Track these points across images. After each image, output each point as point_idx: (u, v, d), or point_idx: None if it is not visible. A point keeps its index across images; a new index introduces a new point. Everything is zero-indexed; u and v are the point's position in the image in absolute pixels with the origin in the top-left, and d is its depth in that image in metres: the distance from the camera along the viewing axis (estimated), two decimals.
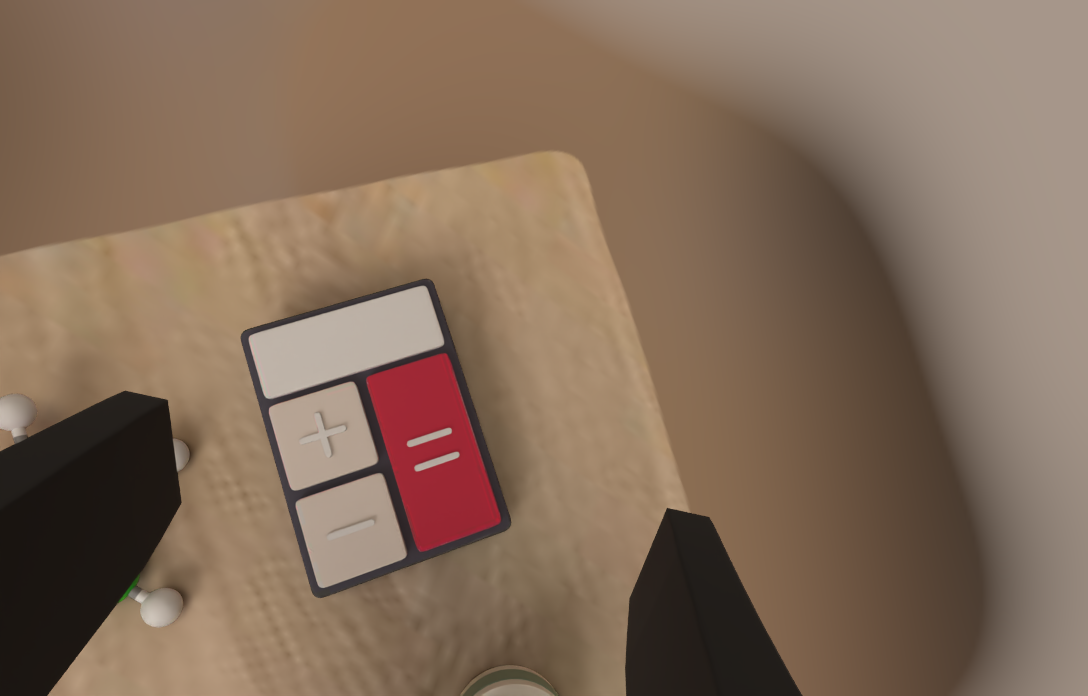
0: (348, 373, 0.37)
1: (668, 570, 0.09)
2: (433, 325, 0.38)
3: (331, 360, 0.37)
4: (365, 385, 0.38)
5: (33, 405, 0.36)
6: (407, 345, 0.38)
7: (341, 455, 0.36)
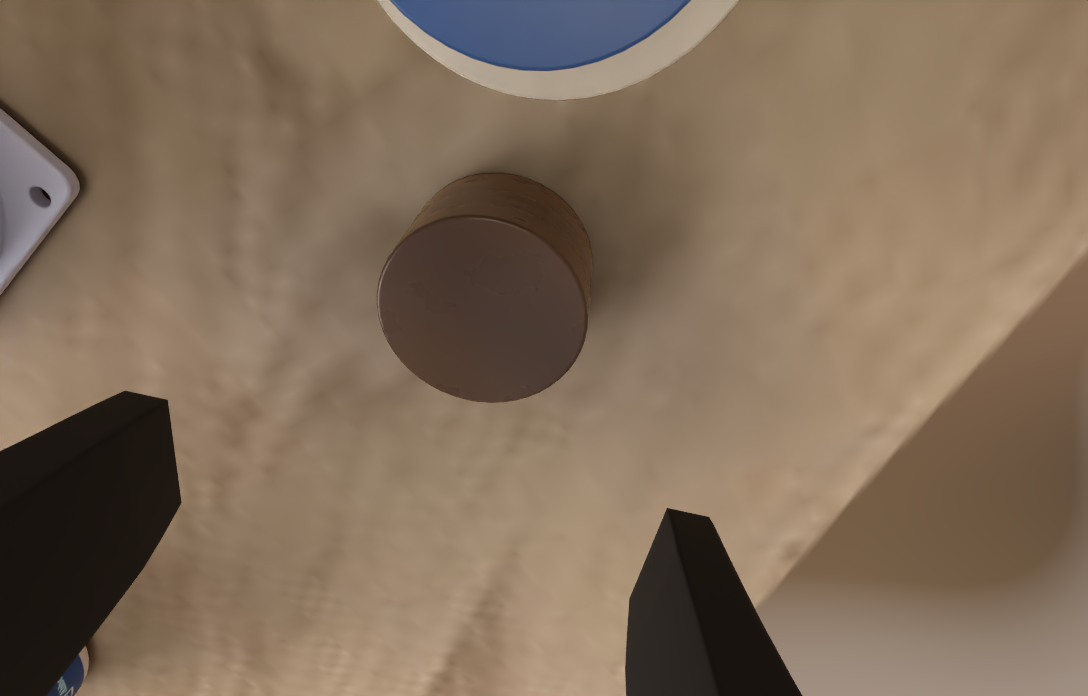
0: None
1: (668, 570, 0.09)
2: None
3: None
4: None
5: None
6: None
7: None
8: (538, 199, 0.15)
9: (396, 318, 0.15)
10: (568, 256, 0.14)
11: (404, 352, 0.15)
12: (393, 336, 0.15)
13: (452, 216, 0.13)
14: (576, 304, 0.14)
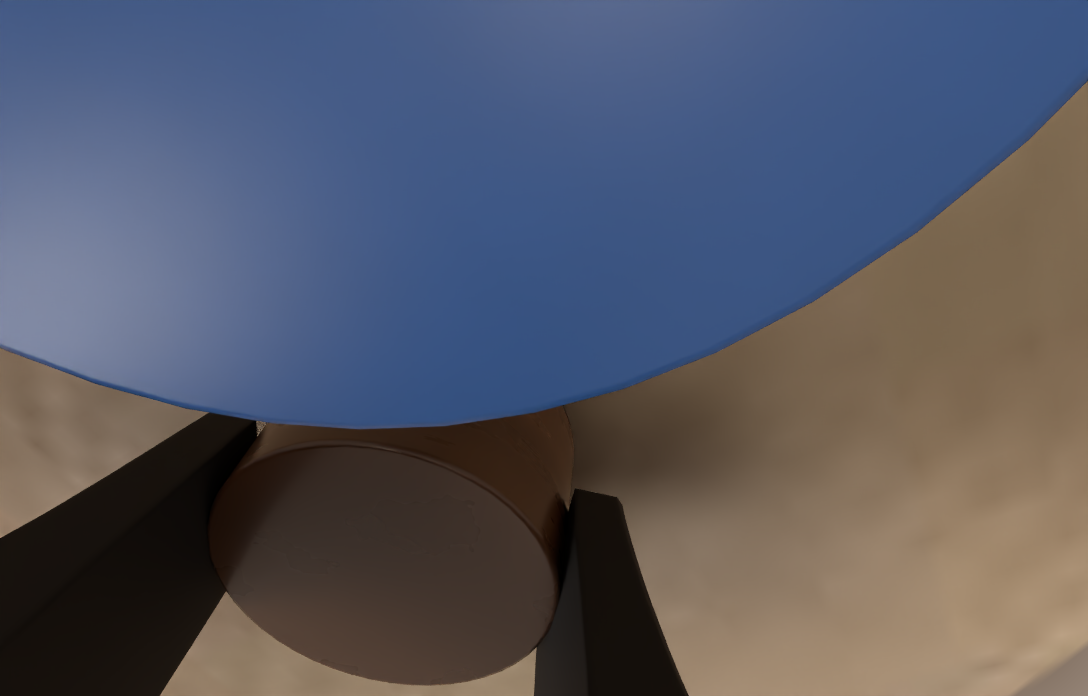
0: None
1: (568, 549, 0.09)
2: None
3: None
4: None
5: None
6: None
7: None
8: None
9: (244, 576, 0.09)
10: (525, 495, 0.08)
11: (264, 619, 0.09)
12: (243, 598, 0.09)
13: (317, 440, 0.08)
14: (540, 571, 0.08)
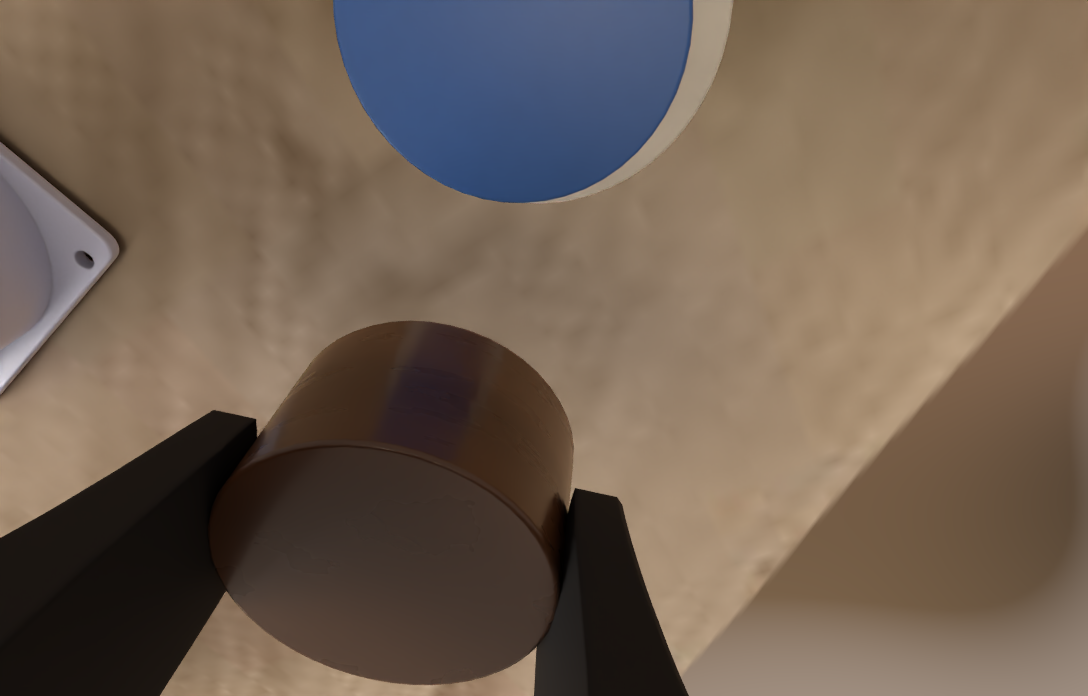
0: None
1: (568, 549, 0.09)
2: None
3: None
4: None
5: None
6: None
7: None
8: (479, 376, 0.09)
9: (244, 576, 0.09)
10: (525, 495, 0.08)
11: (264, 619, 0.09)
12: (244, 598, 0.09)
13: (317, 440, 0.08)
14: (540, 572, 0.08)
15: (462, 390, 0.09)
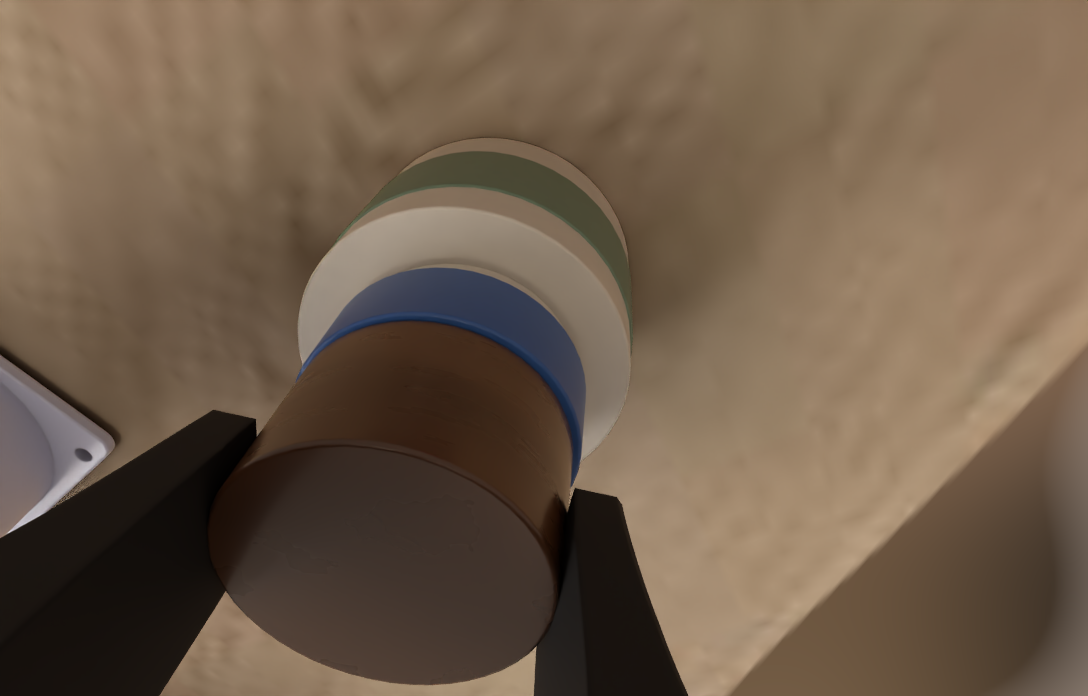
0: None
1: (568, 549, 0.09)
2: None
3: None
4: None
5: None
6: None
7: None
8: (479, 375, 0.09)
9: (243, 576, 0.09)
10: (524, 495, 0.08)
11: (263, 619, 0.09)
12: (243, 598, 0.09)
13: (316, 440, 0.08)
14: (539, 571, 0.08)
15: (461, 390, 0.09)
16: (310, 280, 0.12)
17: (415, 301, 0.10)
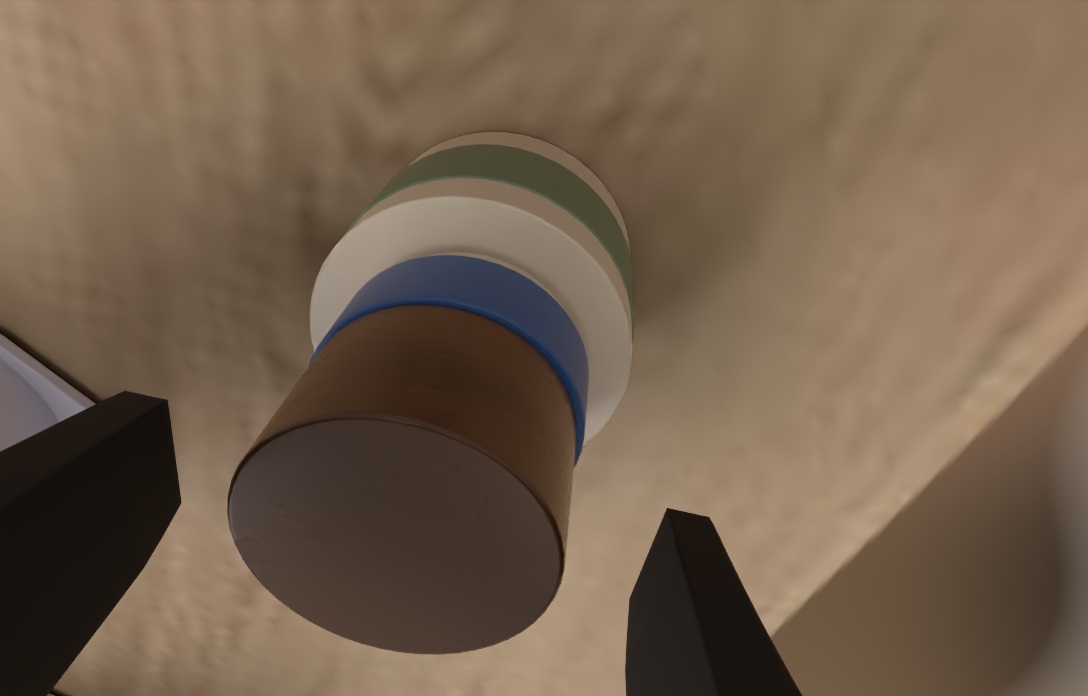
0: None
1: (668, 570, 0.09)
2: None
3: None
4: None
5: None
6: None
7: None
8: (487, 355, 0.09)
9: (262, 547, 0.09)
10: (531, 466, 0.08)
11: (280, 590, 0.10)
12: (261, 569, 0.10)
13: (334, 414, 0.08)
14: (546, 540, 0.09)
15: (470, 368, 0.09)
16: (322, 268, 0.13)
17: (425, 286, 0.11)
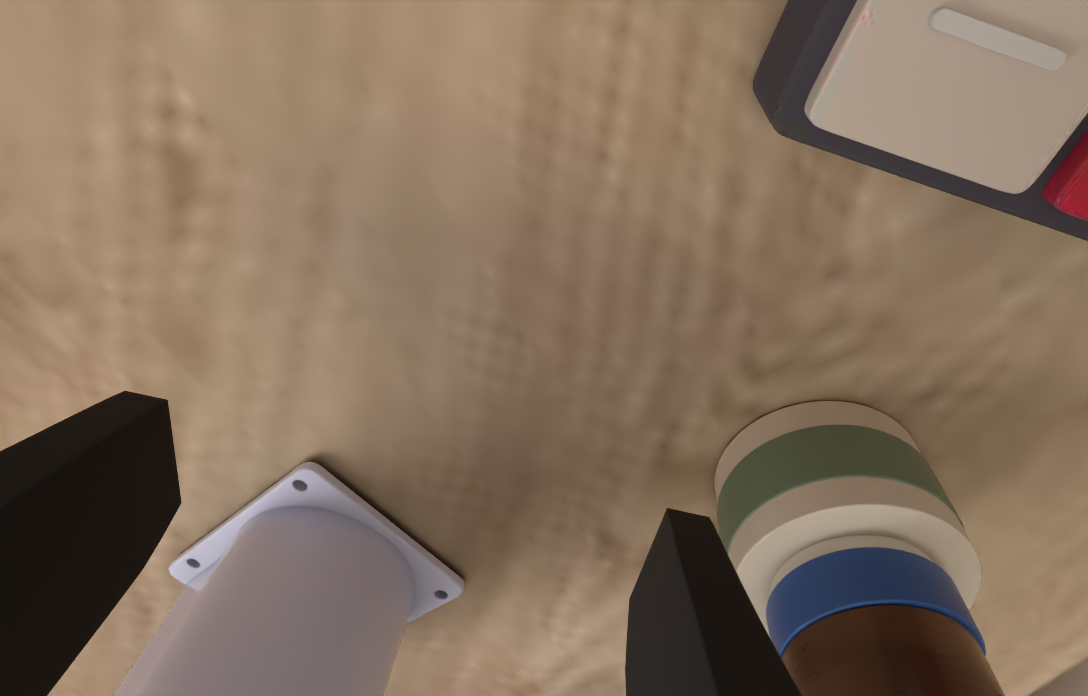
0: None
1: (668, 570, 0.09)
2: None
3: None
4: None
5: None
6: None
7: None
8: (966, 654, 0.15)
9: None
10: None
11: None
12: None
13: None
14: None
15: (969, 671, 0.14)
16: (763, 539, 0.18)
17: (892, 588, 0.16)
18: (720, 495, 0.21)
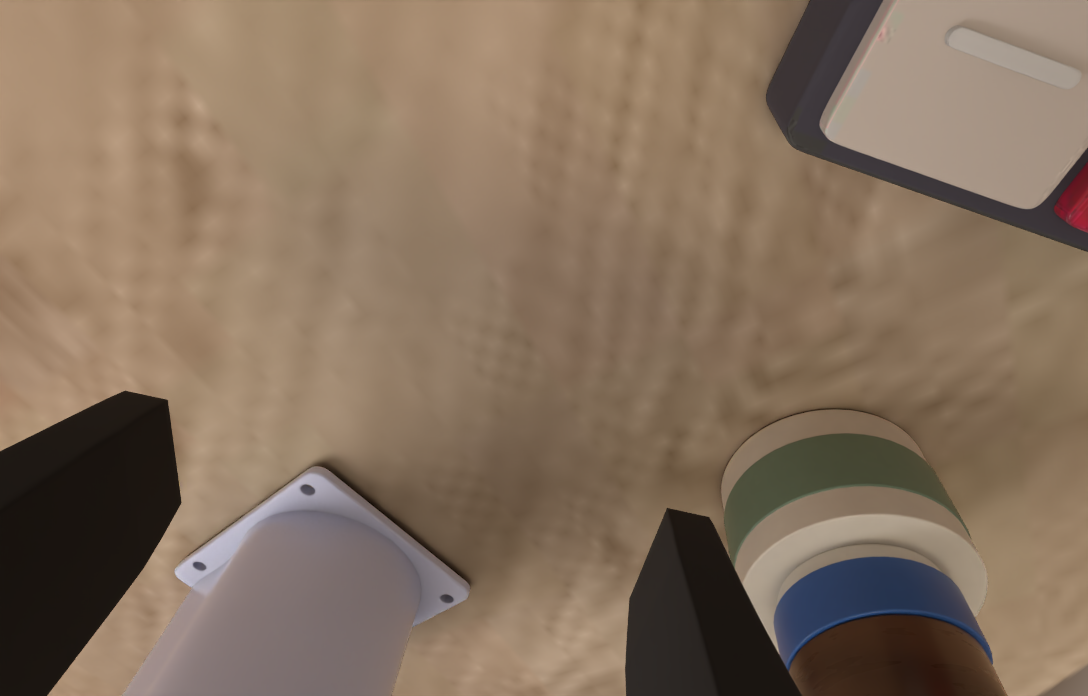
0: None
1: (668, 570, 0.09)
2: None
3: None
4: None
5: None
6: None
7: None
8: (975, 664, 0.15)
9: None
10: None
11: None
12: None
13: None
14: None
15: (978, 681, 0.14)
16: (771, 547, 0.18)
17: (901, 598, 0.16)
18: (727, 502, 0.21)
